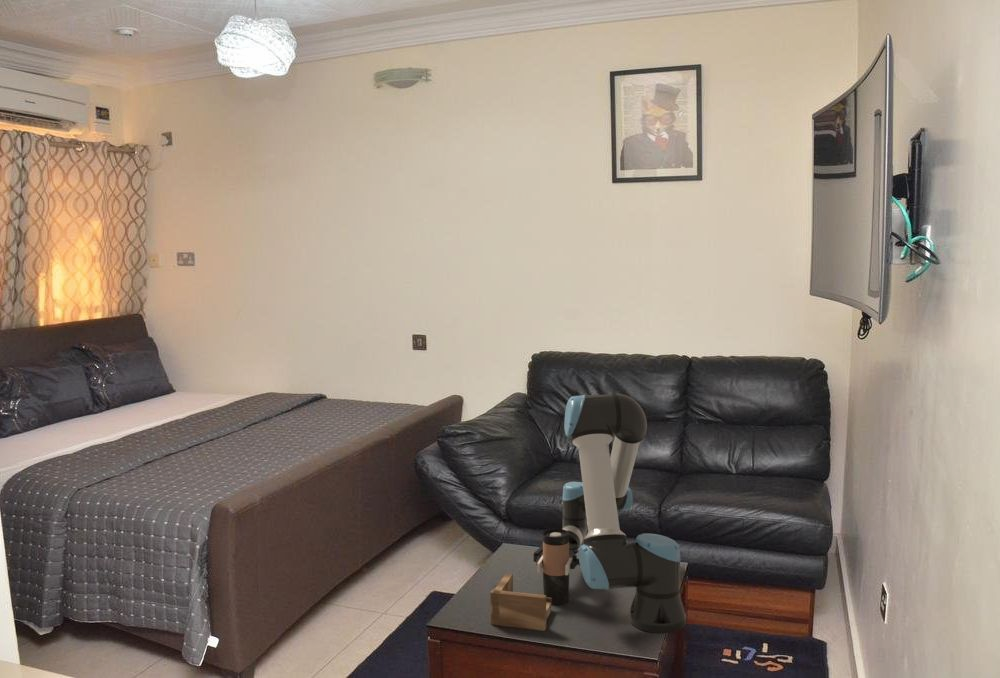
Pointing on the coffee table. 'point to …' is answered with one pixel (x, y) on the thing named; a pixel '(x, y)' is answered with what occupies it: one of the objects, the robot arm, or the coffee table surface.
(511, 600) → the wooden holder
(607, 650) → the coffee table surface
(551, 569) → the travel mug
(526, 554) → the coffee table surface
